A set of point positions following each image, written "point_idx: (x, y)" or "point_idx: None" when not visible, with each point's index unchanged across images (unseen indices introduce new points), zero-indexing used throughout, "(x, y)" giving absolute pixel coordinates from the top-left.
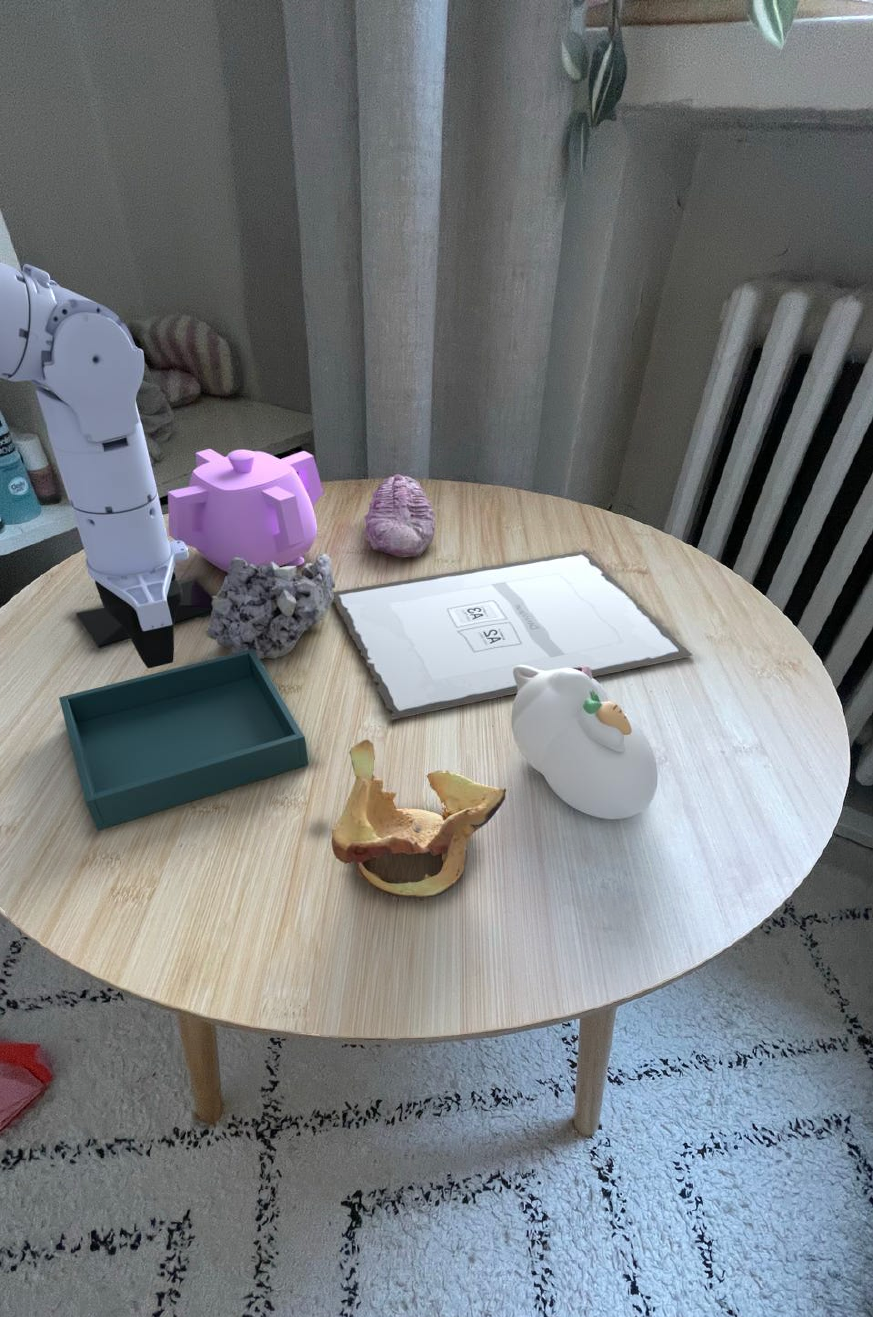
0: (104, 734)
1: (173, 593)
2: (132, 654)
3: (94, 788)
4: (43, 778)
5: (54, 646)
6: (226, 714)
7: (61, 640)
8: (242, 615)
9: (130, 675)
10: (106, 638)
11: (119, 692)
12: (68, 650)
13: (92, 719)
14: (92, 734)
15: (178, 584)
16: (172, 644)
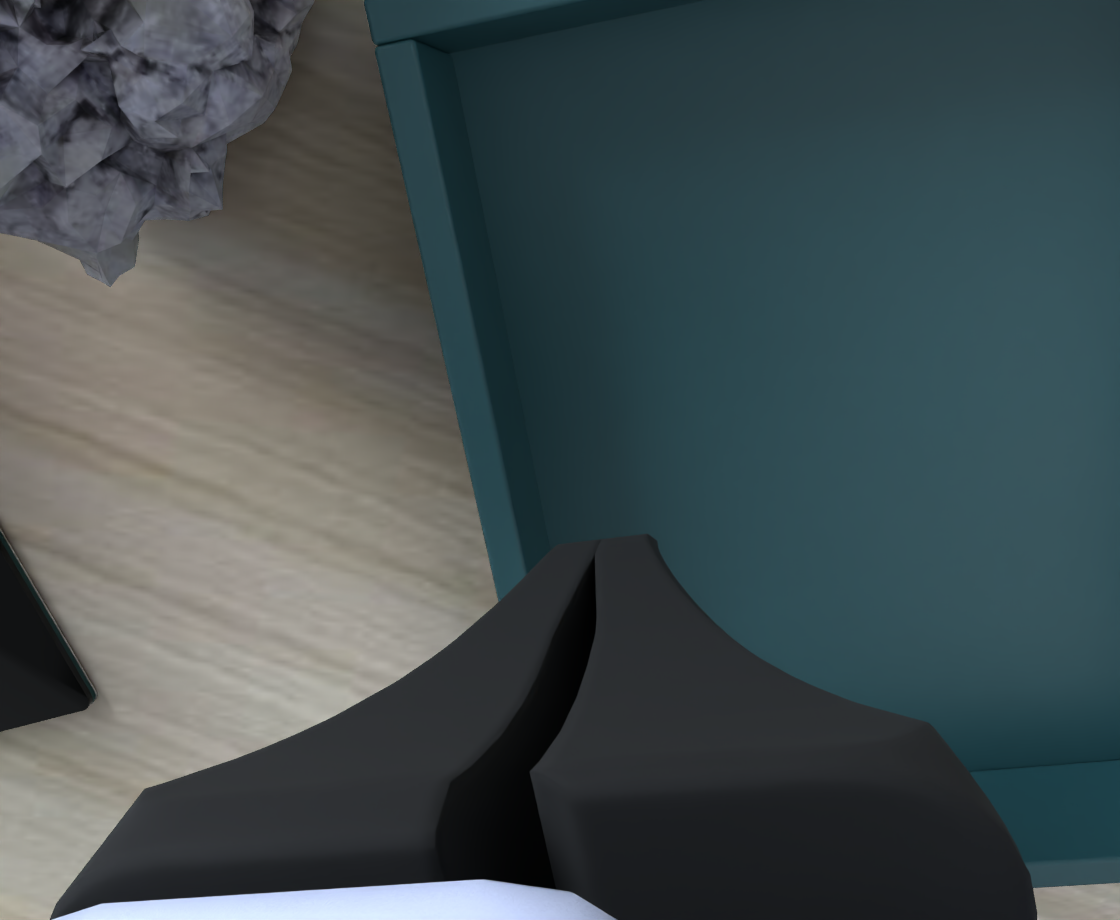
0: None
1: (970, 880)
2: (149, 585)
3: (1026, 769)
4: None
5: (69, 831)
6: (742, 235)
7: (30, 810)
8: (41, 19)
9: (301, 602)
10: (41, 679)
11: None
12: (99, 792)
13: None
14: None
15: (731, 797)
16: (674, 577)
